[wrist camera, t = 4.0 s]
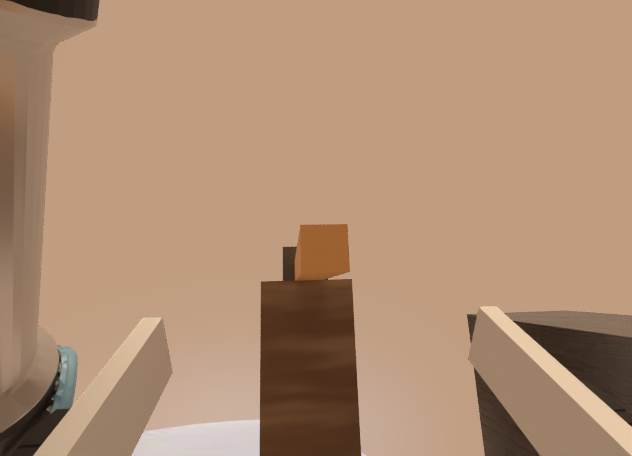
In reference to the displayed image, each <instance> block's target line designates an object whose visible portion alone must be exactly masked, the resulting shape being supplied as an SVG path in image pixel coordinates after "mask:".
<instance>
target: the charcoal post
mask: <svg viewBox="0 0 632 456" xmlns="http://www.w3.org/2000/svg"><path fill="white" fill-rule="evenodd" d="M504 314H505V315H506V316H508V317H509V318H510V319H511V320H512V321H513V322H514V323H515V324H516V325H518V326H519V327H520V328H521V329H522V330H523V331H524V332H525V333H527V334H528V335H529V336H530V337H531V338H532V339H533V340H534V341H536V342H537V343H538V344H539V345H540V346H541V347H542V348H543V349H545V350H546V351H547V352H548V353H549V354H550V355H551V356H552V357H554V358H555V359H556V360H557V361H558V362H559V363H560V364H561V365H563V366H564V367H565V368H566V369H567V370H568V371H569V372H570V373H572V374H573V375H574V376H575V377H576V378H577V379H578V380H579V381H587V382H589V383H591V384H592V385H594V386H596V387H597V388H599V389H601V390H602V391H604V392H606V393H607V394H609V395H610V396H611V397H612V398H613V399H614V400H616V401H617V402H618V403H619V404H620V405H622V406H623V407H624V408H625V409H626V411H627V412H630V413H631V414H632V316H630V315H617V314H603V313H590V312H576V311H546V312H517V313H504ZM467 317H468V325H469V332H470V341H471V343H472V338H473V333H474V328H475V323H476V318H477V314H467ZM474 372H475V379H476V388H477V396H478V404H479V412H480V420H481V428H482V436H483V444H484V452H485V456H540V455H539V453H538V452H537V451H536V449H535V448H534V447H533V445H532V444H531V443H530V441H529V440H528V439H527V437H526V436H525V435H524V433H523V432H522V431H521V429H520V428H519V427H518V425H517V424H516V422H515V421H514V420H513V418H512V417H511V416H510V414H509V413H508V412H507V410H506V409H505V408H504V406H503V405H502V404H501V402H500V401H499V400H498V398H497V397H496V396H495V394H494V393H493V392H492V390H491V389H490V388H489V386H488V385H487V384H486V382H485V381H484V380H483V378H482V377H481V376H480V374H479V373H478V372H477V370H476V369H475V368H474Z"/></svg>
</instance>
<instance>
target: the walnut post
mask: <svg viewBox="0 0 632 456" xmlns="http://www.w3.org/2000/svg"><path fill="white" fill-rule="evenodd" d="M353 313H354V312H353V294H352V279H341V280H304V281H269V282H261V361H260V363H261V364H260V366H261V367H260V456H361V446H360V427H359V407H358V389H357V370H356V350H355V333H354V332H355V331H354V314H353Z"/></svg>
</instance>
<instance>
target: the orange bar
mask: <svg viewBox="0 0 632 456" xmlns="http://www.w3.org/2000/svg"><path fill="white" fill-rule="evenodd" d="M347 272H350V268H349V247H348V228H347V224H342V225H341V224H340V225H300V231H299V237H298V243H297V247H283V281H304V280H328V278H331V277H334V276H337V275H340V274H344V273H347Z"/></svg>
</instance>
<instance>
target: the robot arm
mask: <svg viewBox="0 0 632 456" xmlns="http://www.w3.org/2000/svg"><path fill="white" fill-rule="evenodd" d="M98 8H99V0H0V456H131V455H132V453H133V451H134V449H135V447H136V445H137V443H138V441H139V439H140V437H141V435H142V433H143V431H144V429H145V427H146V424H147V422H148V421H149V418H150V416H151V415H152V413H153V411H154V409H155V406H156V405H157V402H158V400H159V398H160V396H161V395H162V392H163V390H164V388H165V386H166V384H167V382H168V380H169V378H170V376H171V374H172V367H171V362H170V356H169V350H168V345H167V339H166V334H165V328H164V323H163V318H142V320H141V321H140V322H139V323H138V325H137V326H136V327H135V329H134V330H133V331H132V332H131V333H130V335H129V336H128V337H127V339H126V340H125V341H124V342H123V343H122V345H121V346H120V347H119V348H118V350H117V351H116V352H115V353H114V355H113V356H112V357H111V358H110V360H109V361H108V362H107V363H106V365H105V366H104V367H103V369H102V370H101V371H100V372H99V374H98V375H97V376H96V377H95V379H94V380H93V381H92V382H91V384H90V385H89V386H88V387H87V389H86V390H85V391H84V393H83V394H82V395H81V396H80V398H79V399H78V400H77V401H76V402H75V404H74V405H73V406H72V404H73V398H74V393H75V386H76V378H77V365H78V364H77V354H76V351H75V350H73V349H72V348H71V347H62V346H60V345H56V342H55V340H54V339H53V337H52V336H51V335H50V334H49V333H48V332H47V331H46V330H45V329H43V328H42V327H40V326H39V325H38V314H39V295H40V278H41V261H42V243H43V225H44V224H43V223H44V207H45V190H46V172H47V171H46V170H47V154H48V136H49V118H50V101H51V83H52V65H53V52H54V50H55V47H56V46H57V45H58V44H59V43H60V42H62V41H64V40H66V39H69V38H71V37H73V36H75V35H77V34H80V33H82V32H84V31H86V30H89V29H91V28H93V27H95V26H96V23H97V16H98ZM468 360H469V361H470V362H471V364H472V365H473V366H474V368H475V369H476V370H477V372H478V373H479V374H480V376H481V377H482V378H483V380H484V381H485V382H486V384H487V385H488V386H489V388H490V389H491V390H492V392H493V393H494V394H495V396H496V397H497V398H498V400H499V401H500V402H501V404H502V405H503V406H504V408H505V409H506V410H507V412H508V413H509V414H510V416H511V417H512V418H513V420H514V421H515V422H516V424H517V425H518V427H519V428H520V429H521V431H522V432H523V433H524V435H525V436H526V437H527V439H528V440H529V441H530V443H531V444H532V445H533V447H534V448H535V449H536V451H537V452H538V453H539V455H540V456H632V414H631V413H630V412H627V411H626V409H625V408H624V407H623V406H622V405H620V404H619V403H618V402H617V401H616V400H614V399H613V398H612V397H611V396H610V395H609V394H607V393H606V392H604V391H602V390H601V389H599V388H597V387H596V386H594V385H592V384H591V383H589V382H587V381H579V380H578V379H577V378H576V377H575V376H574V375H573V374H572V373H570V372H569V371H568V370H567V369H566V368H565V367H564V366H563V365H561V364H560V363H559V362H558V361H557V360H556V359H555V358H554V357H552V356H551V355H550V354H549V353H548V352H547V351H546V350H545V349H543V348H542V347H541V346H540V345H539V344H538V343H537V342H536V341H534V340H533V339H532V338H531V337H530V336H529V335H528V334H527V333H525V332H524V331H523V330H522V329H521V328H520V327H519V326H518V325H516V324H515V323H514V322H513V321H512V320H511V319H510V318H509V317H508V316H506V315H505V314H504V313H503V312H502V311H501V310H500V309H498V308H497V307H496V306H489V307H479V309H478V313H477V318H476V323H475V328H474V333H473V338H472V343H471V348H470V352H469V358H468Z"/></svg>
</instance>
